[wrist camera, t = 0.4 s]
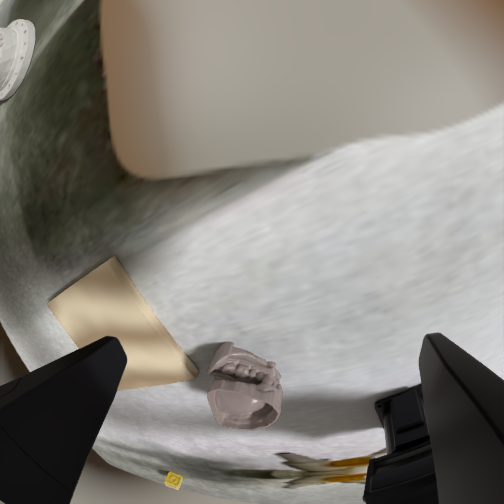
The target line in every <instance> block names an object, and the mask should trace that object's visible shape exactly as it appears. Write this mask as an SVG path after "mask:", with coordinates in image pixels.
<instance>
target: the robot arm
mask: <svg viewBox="0 0 504 504" xmlns="http://www.w3.org/2000/svg"><path fill="white" fill-rule="evenodd" d="M126 365H127V355H126V353H125V351H124V349H123V347H122V345H121V343H120V341H119V339H118V338H117V337H114V336H105V337H103V338H101V339H99V340H96V341H94V342H92V343H90V344H88V345H86V346H84V347H82V348H80V349H78V350H76V351H74V352H72V353H70V354H67V355H65V356H63V357H61V358H59V359H57V360H55V361H53V362H51V363H49V364H47V365H45V366H42V367H40V368H38V369H36V370H34V371H32V372H30V373H28V374H26V375H23V377H19V378H17V379H15V380H13V381H11V382H8V383H6V384H4V385H2V386H0V504H70V502H71V499H72V497H73V493H74V491H75V488H76V486H77V483H78V480H79V478H80V475H81V473H82V470H83V468H84V466H85V463H86V461H87V458H88V456H89V454H90V451H91V449H92V447H93V444H94V442H95V440H96V437H97V435H98V433H99V431H100V428H101V426H102V424H103V422H104V420H105V417H106V415H107V413H108V411H109V409H110V407H111V404H112V402H113V400H114V397H115V395H116V392H117V389H118V386H119V384H120V381H121V378H122V375H123V373H124V370H125V367H126ZM419 370H420V376H421V384H422V385H421V386H419V387H416V388H414V389H411V390H408V391H406V392H403V393H400V394H397V395H395V396H392V397H389V398H386V399H383V400H380V401H377V402H375V409H376V411H377V414H378V416H379V419H380V421H381V423H382V426H383V428H384V430H385V439H386V449H387V455H385V456H381V457H378V458H372V459H370V460H369V466H368V469H367V477H366V483H365V490H364V495H363V501H364V502H366V504H504V380H503V379H502V378H500V377H499V376H498V375H496V374H495V373H494V372H492V371H491V370H490V369H489V368H487V367H486V366H485V365H483V364H482V363H481V362H479V361H478V360H477V359H475V358H474V357H473V356H471V355H470V354H469V353H467V352H466V351H464V350H463V349H462V348H460V347H459V346H458V345H456V344H455V343H454V342H452V341H451V340H449V339H448V338H447V337H445V336H444V335H442V334H441V333H431V334H426V335H425V337H424V339H423V343H422V348H421V352H420V356H419Z"/></svg>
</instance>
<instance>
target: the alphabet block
mask: <svg viewBox="0 0 504 504" xmlns="http://www.w3.org/2000/svg"><path fill="white" fill-rule="evenodd" d="M182 480H183V477H182V476H181V475H178V474H175V473H172V472H170V471H169V472H168V475H167V477H166V479H165V481H164V482H165V485H166V486H169V487H171V488H173V489H176V490H179V488H180V485H181V483H182Z"/></svg>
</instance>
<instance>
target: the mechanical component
mask: <svg viewBox="0 0 504 504" xmlns="http://www.w3.org/2000/svg"><path fill="white" fill-rule="evenodd" d="M34 45H35V28H34V25H33V23H32V22H31V21H29V20H22V19H18V20H16V21H14V22H12V23H11V24H10V25H9V26H8V27H7V28H0V101H3V100H6V99H8V98H9V97H11V96H12V95H13V94H14V93H15V92H16V90H17V89H18V87H19V86H20V84H21V83H22V81H23V79H24V77H25V74H26V72H27V70H28V67H29V65H30V61H31V58H32V55H33V50H34Z"/></svg>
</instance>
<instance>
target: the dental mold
mask: <svg viewBox="0 0 504 504" xmlns="http://www.w3.org/2000/svg"><path fill="white" fill-rule="evenodd" d="M233 344H234V343H233V342H224V343H223V344H221V346H220V347H219V348H218V349H217V350H216V352H215V354H214V356H213V359H212V361H211V364H210V366H209V369H208V374H210V375H212V374H213V375H214V377H215V380H214V382H213V383H212V385H211V388H210V390H209V392H208V395H207V398H208V401H209V404H210V407H211V409H212V412H213V414H214V417H215V419H216V421H217V423H218V424H219V425H220V426H223V427H228V428H234V429H239V430H256V429H259V428H266V427H269V426H270V425H271V424H273V423H274V422H276V421H277V420H278V417H279V416H280V412H281V402H282V395H283V392H282V387H281V385H280V384H279V380H280V378H281V375H280V373H279V371H278V370H277V369H276V368H275V367H274V366H275V365H276V363H275V362H267V361H266V360H265V359H262V358H260V357H257V356H256V355H254V354H253V353H251V352H249V351H246V350H243V349H240V348H236V347H234V346H233Z"/></svg>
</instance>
